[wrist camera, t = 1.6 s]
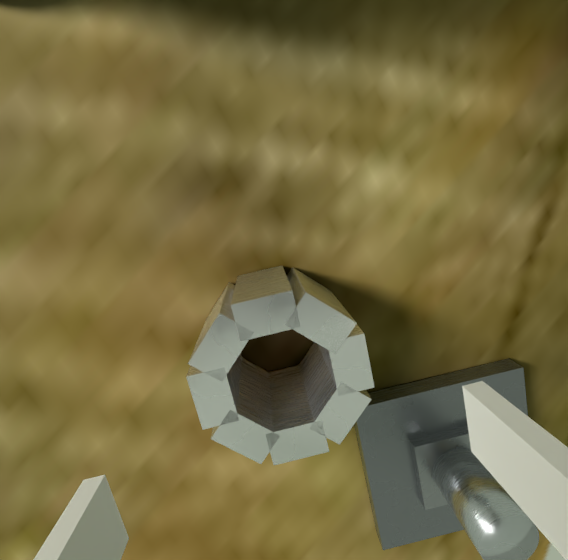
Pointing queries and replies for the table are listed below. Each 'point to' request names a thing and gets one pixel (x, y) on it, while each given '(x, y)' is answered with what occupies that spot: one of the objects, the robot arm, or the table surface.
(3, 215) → the table surface
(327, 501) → the table surface
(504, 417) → the robot arm
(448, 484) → the shaft block
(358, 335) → the ring
